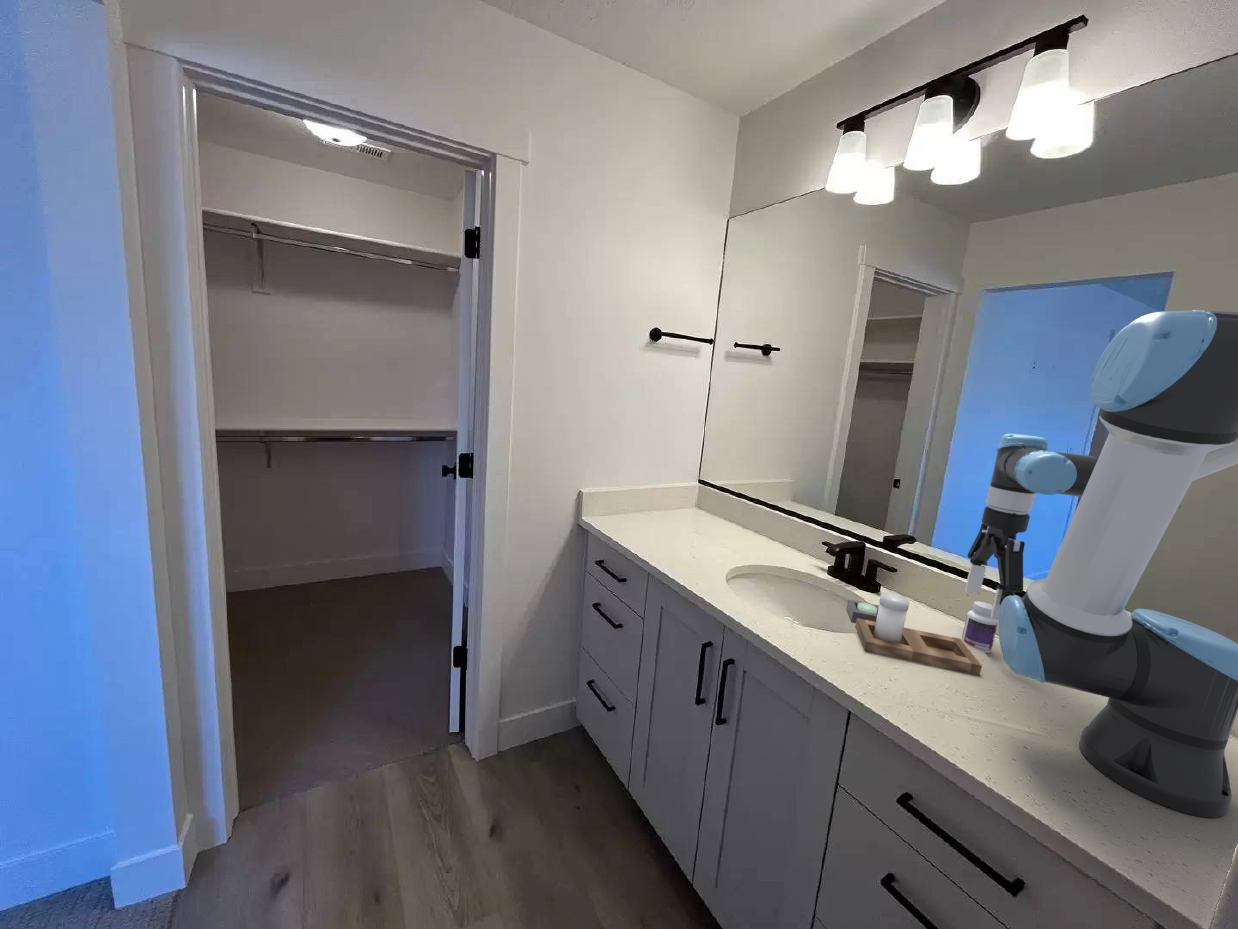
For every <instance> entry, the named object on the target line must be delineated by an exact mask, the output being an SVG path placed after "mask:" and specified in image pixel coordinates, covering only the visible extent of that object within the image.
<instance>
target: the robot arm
mask: <svg viewBox="0 0 1238 929" xmlns="http://www.w3.org/2000/svg"><path fill="white" fill-rule="evenodd" d="M1091 380H1092V381H1093V382H1092V384H1090V390H1089V391H1090V393H1089V394H1090V398H1091V400H1092V403H1094V406H1095V407H1097V408H1098V409H1101V412H1100V415H1099V417H1098V418H1099V420H1100V421H1101V423H1102V424H1103V425H1104V427H1105V429H1107V431H1108V436H1107V438H1106V440H1105V443H1104V445H1103V447H1102V449H1101V452H1100V453H1099V456H1094V455H1086V454H1078V453H1077V454H1076V453H1070V452H1060V451H1051V450H1048V444H1049V442H1048V439H1047V438H1045V437H1042V436H1034V435H1028V434H1018V433H1005V434H1004V435H1002V437H1001V438H1000V442H999V445H998V447H997V450H996V457H995V461H994V466H993V471H992V475H991V479H990V485H989V486H988V490H987V491H988V492H987V495H986V499H985V503H986V505H987V506H986V507H984V509H983V513H982V519H981V522H982V523H981V524H980V529H979V531H978V533H977V535H976V537H975V539H974V541H973V542H972V545H971V547H970V548H969V551H968V553H967V558H968V559H969V561H970V562H969V563H970V567H969V571H968V574H967V580H966V582H965V583H966V584H965V587H964V588H965V589H964V592H965V593H967V594H968V593H969V594H975V595H980V594H981V590H982V587H983V583H984V582H983V581H984V577H985V573H986V569H987V567H986V566H989V565H988V561H989V560H990V558H991V557H993V556H994V557H995V558H996V560H997V561H996V562H997V568H998V569H997V570H998V576H999V577H998V578H999V584H998V585H996V592H995V595H994V600H993V603H992V605H993V608H992V612H991V616H990V617H991V618H992V619H996V620H998V624H997V628H998V640H999V646H1000V647H999V648H1000V650H1001V654H1002V658H1003V660H1004V662H1005V664H1006V666H1008V668H1009V669H1010V670H1011V671H1012V672H1013V673H1015V674H1017V675H1020V676H1022V677H1025V678H1030V679H1033V680H1036V681H1039V683H1042V684H1044V683H1049V684H1053V685H1058V686H1061V687H1065V688H1069V689H1072V690H1077V691H1081V692H1084V693H1089V694H1093V695H1097V696H1101V697H1105V698H1108V699H1107V703H1106V705H1105V706H1103V708H1102V709H1101V710H1100V711H1099V713H1097V715H1095V717H1093V719H1092V720H1091V721H1090V723H1089V724H1088V725H1086V726H1085V727H1084V728H1083V730H1082V731H1081V735H1080V739H1079V743H1078V747H1079V750H1080V752H1081V754H1082V755H1083V757H1084V758H1085V759H1086V760H1087V761H1088V762H1089V763H1090V764H1091V765H1093V767H1094V768H1096V769H1097V770H1098V771H1100V772H1101V773H1102V774H1104V775H1105V776H1106V777H1108V778H1110V779H1111V780H1112V781H1114V782H1115V783H1117V784H1119V785H1121V786H1122V787H1124V788H1125V789H1128V790H1129V791H1132V792H1133V793H1135V794H1137V795H1139V796H1141V797H1143V798H1146V799H1147V800H1150V801H1152V802H1154V803H1157V804H1159V805H1161V806H1164V807H1167V808H1169V809H1172V810H1175V811H1178V812H1181V813H1184V814H1188V815H1192V816H1196V817H1204V818H1221V817H1223V816H1225V815H1226V814H1228V813H1227V812H1228V810H1229V807H1230V806H1231V805H1230V804H1231V802H1232V790H1231V784H1230V777H1229V772H1228V766H1227V761H1226V755H1225V752H1226V747H1227V744H1228V741H1229V740H1230V739H1229V738H1230V734H1231V732H1232V730H1233V727H1234V724H1235V721H1236V718H1237V714H1238V643H1237V642H1235V641H1233V640H1232V639H1230V638H1228V637H1226V636H1224V635H1222V634H1221V633H1218V632H1215V631H1213V630H1211V629H1208V628H1206V627H1204V626H1201V625H1199V624H1196V623H1194V622H1191V621H1188V620H1186V619H1183V618H1179V617H1177V616H1174V615H1170V614H1167V613H1165V612H1160V611H1156V610H1152V609H1149V608H1148V609H1147V608H1136V609H1134V610H1133V611H1132V612H1131V613H1130V614H1129V613H1128V612H1127V610H1126V609H1125V607H1126V605H1127V603H1128V602H1129V599H1130V598H1131V596H1132V594H1133V593H1134V590H1135V588H1137V585H1138V583H1139V581H1140V579H1141V577H1142V576H1143V574H1144V572H1145V570H1146V568H1147V566H1148V565H1149V562H1150V560H1151V558H1152V556H1153V555H1154V554H1155V551H1156V550H1157V548H1158V546H1159V543H1160V542H1161V541H1162V540H1161V539H1163V536H1164V534H1165V533H1166V531H1167V529H1168V527H1169V525H1170V523H1171V521H1172V519H1173V517H1174V516H1175V514H1176V512H1177V511H1178V509H1179V506H1180V505H1181V503H1182V501H1183V499H1184V497H1185V495H1186V493H1187V491H1188V490H1189V487H1191V484H1192V482H1193V481H1196V480H1199V479H1201V478H1204V477H1206V476H1209V475H1211V474H1214V473H1216V472H1219V471H1220V472H1221V471H1222V470H1226V469H1227V468H1230V467H1233V466H1235V465H1238V312H1237V311H1218V310H1217V311H1216V310H1205V309H1203V310H1200V309H1193V310H1180V311H1179V310H1176V311H1175V310H1174V311H1172V310H1169V311H1167V310H1165V311H1154V312H1151V313H1147V314H1144V315H1142V316H1140V317H1138V318H1135V320H1133V321H1132V322H1131V321H1130V323H1129V324H1127V325H1126V326H1124V328H1122V329H1121V330H1120V331H1119V332H1118V333H1117V334H1116V335H1115V336H1113V338H1112V339H1111V341H1110V342H1109V343H1108V345H1107V346H1106V348H1104V351H1103V352H1102V354H1101V356H1100V357H1099V359H1098V361H1097V364H1096V366H1095V369H1094V371H1093V374H1092V377H1091ZM1036 494H1039V495H1040V494H1041V495H1046V496H1054V495H1064V496H1069V497H1070V496H1072V497H1079V498H1080V500H1079V502H1078V504H1077V507H1076V509H1075V511H1074V513H1073V517H1072V518H1071V520H1070V522H1069V525H1068V526H1067V530H1066V532H1065V533H1064V534H1065V535H1064V537H1063V539H1062V541H1061V542H1060V543H1061V544H1060V545H1059V547H1058V550H1057V553H1056V555H1055V557H1054V559H1053V561H1052V563H1051V566H1050V569H1049V570H1048V574H1047V575H1046V577H1045V578H1040V579H1037V580H1034V581H1031V582H1030V583H1029V584H1028V586H1027V588H1026V590H1025V593H1024V595H1023V596H1022V597H1021V596H1019V595H1016V594H1015V593H1023V592H1024V550H1025V546H1026V544H1025V541H1022V540H1017V534H1018V533H1020V534H1021V533H1026V532H1027V530H1028V528H1029V522H1030V517H1031V516H1030V514H1029V513H1030V512H1031V511H1032V509H1033V505H1034V502H1036V501H1037V497H1036Z"/></svg>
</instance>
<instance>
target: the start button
mask: <svg viewBox="0 0 1238 929" xmlns="http://www.w3.org/2000/svg"><path fill="white" fill-rule="evenodd" d="M871 604H872V603H869V604H868V602H864V603H858V606H857V610H858V611H862V612H867V613H872V614H876V613H877V608H876V607H875V606H873V605H871Z"/></svg>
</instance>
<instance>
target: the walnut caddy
mask: <svg viewBox="0 0 1238 929" xmlns="http://www.w3.org/2000/svg"><path fill="white" fill-rule="evenodd" d="M875 625H876V622H874V621H869V620H864V619H859V618H857V620H856V623H855V630H856V632H857V634H858V638H859V640H860V641H861V646H862V647H863V650H864V652H868V653H872V654H877V655H881V656H887V657H891V658H895V659H900V660H903V661H904V660H905V661H909V662H912V663H913V662H914V663H919V664H923V665H929V666H934V667H937V668H942V669H945V670H952V671H956V672H962V673H966V674H970V675H974V676H981V672H982V667H983V664H981V663H980V661H979V660H978V659H977V658H976V657H975V655H974V654H973V653H972V652H971V650H970V649H969V648H968V646H967V644H966V643H965V642H964V641H963V640H962V638H958V637H955V636H949V635H943V634H938V633H933V632H928V631H923V630H918V629H915V628H908V627H904V629H903V634H902V639H901V644H899V643H894V642H889V641H884V640H879V639H874V638H873V635H874V630H875Z"/></svg>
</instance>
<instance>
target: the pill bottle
mask: <svg viewBox="0 0 1238 929" xmlns="http://www.w3.org/2000/svg"><path fill="white" fill-rule="evenodd" d="M992 608H993V604H991V603H988V602H984V601H979V600H977V601H974V602H973V605H972V610H971V609H970V610H969V611H968V612H967V614H966V618H965V622H964V626H963V630H962V631H963V632H962V635H961V640H962V642H963V643H964V644H965V645H968V646H971V647H973V648H976V649H980V650H982V651H983V653H984V654H990V653H991V652H992V649H993V645H994V640H995V637H996V632H997V628H998V621H999V620H996V619H992V618H991V617H990V616H991V612H992Z"/></svg>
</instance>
